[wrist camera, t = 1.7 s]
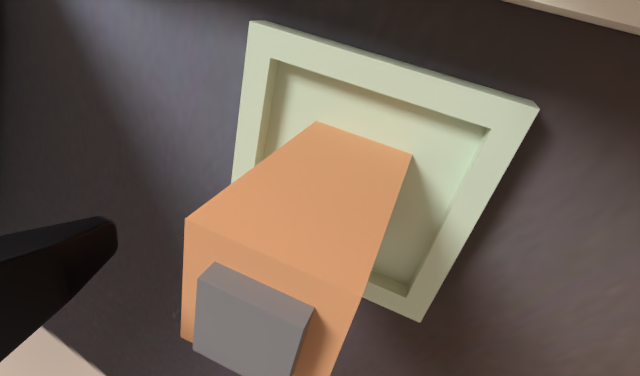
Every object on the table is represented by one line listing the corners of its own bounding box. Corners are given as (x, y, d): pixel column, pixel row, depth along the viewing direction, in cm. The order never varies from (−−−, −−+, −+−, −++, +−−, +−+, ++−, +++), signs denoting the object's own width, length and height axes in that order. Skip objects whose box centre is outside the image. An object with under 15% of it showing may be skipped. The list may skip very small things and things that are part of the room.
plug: (412, 154, 14) (354, 320, 6) (380, 235, 16) (307, 431, 8) (316, 120, 14) (164, 233, 7) (297, 202, 16) (164, 355, 9)
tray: (533, 100, 12) (539, 109, 11) (422, 304, 17) (420, 323, 16) (265, 20, 14) (249, 20, 13) (237, 224, 19) (225, 236, 18)
